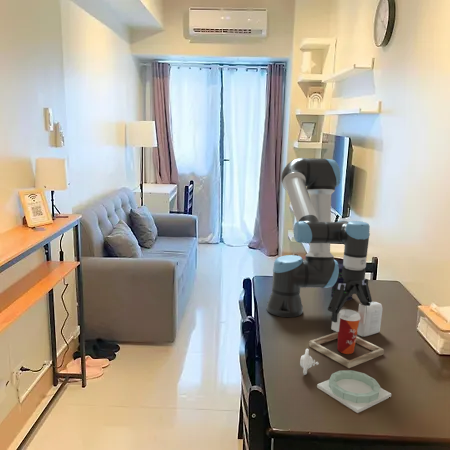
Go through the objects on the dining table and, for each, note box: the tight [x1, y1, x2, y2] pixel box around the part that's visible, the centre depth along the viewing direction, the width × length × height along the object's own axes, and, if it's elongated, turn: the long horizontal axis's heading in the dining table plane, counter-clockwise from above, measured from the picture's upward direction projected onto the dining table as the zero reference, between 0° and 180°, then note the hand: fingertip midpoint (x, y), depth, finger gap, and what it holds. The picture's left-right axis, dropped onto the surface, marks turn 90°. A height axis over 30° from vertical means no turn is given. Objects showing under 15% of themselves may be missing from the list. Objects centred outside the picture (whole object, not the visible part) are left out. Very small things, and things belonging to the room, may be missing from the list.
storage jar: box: [330, 262, 353, 302], centre depth 213 cm, size 10×10×15 cm
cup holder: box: [316, 369, 392, 414], centre depth 135 cm, size 15×15×3 cm
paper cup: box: [337, 308, 361, 355], centre depth 160 cm, size 8×8×14 cm
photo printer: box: [357, 301, 384, 337], centre depth 175 cm, size 10×4×12 cm, turn 123°
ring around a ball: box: [299, 348, 319, 376], centre depth 144 cm, size 8×6×8 cm
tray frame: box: [308, 331, 385, 369], centre depth 161 cm, size 18×18×2 cm
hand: (348, 326), depth 159 cm, fingers open, 13 cm apart
